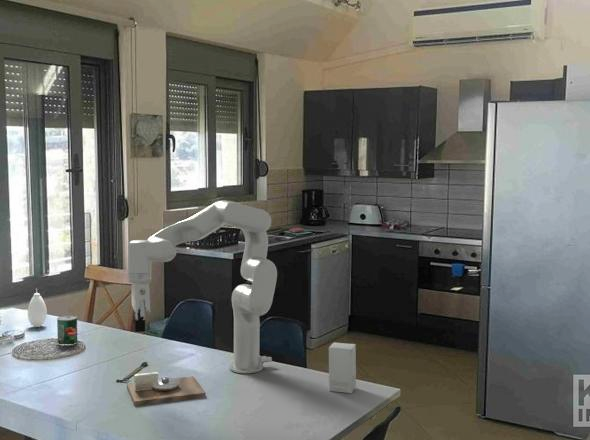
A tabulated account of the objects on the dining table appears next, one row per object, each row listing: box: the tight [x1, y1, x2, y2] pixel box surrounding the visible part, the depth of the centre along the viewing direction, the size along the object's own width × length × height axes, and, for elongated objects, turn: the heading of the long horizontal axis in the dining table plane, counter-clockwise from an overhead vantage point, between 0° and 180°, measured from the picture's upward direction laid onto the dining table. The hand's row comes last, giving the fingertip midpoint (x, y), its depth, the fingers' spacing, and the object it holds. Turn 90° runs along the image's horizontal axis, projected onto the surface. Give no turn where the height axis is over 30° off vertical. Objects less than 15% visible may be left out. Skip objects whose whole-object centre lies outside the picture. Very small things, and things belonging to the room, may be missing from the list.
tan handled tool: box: [115, 361, 148, 384], centre depth 247 cm, size 21×7×1 cm, turn 166°
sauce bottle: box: [27, 287, 48, 328], centre depth 307 cm, size 8×8×18 cm
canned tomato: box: [56, 314, 79, 344], centre depth 282 cm, size 8×8×11 cm
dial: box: [133, 371, 179, 391], centre depth 228 cm, size 14×9×5 cm, turn 112°
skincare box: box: [328, 342, 357, 394], centre depth 233 cm, size 8×7×16 cm
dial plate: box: [126, 375, 206, 407], centre depth 229 cm, size 23×17×2 cm
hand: (139, 331), depth 229 cm, fingers closed
